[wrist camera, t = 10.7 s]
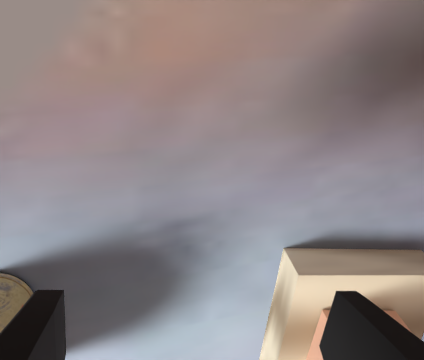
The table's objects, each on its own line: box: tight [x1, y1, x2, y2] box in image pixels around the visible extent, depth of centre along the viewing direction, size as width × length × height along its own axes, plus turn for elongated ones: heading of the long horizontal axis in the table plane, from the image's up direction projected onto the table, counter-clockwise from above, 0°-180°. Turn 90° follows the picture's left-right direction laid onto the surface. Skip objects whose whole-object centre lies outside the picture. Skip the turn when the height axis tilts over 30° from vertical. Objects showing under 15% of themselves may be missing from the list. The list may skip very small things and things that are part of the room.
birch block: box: [259, 248, 424, 360], centre depth 24 cm, size 9×9×3 cm
